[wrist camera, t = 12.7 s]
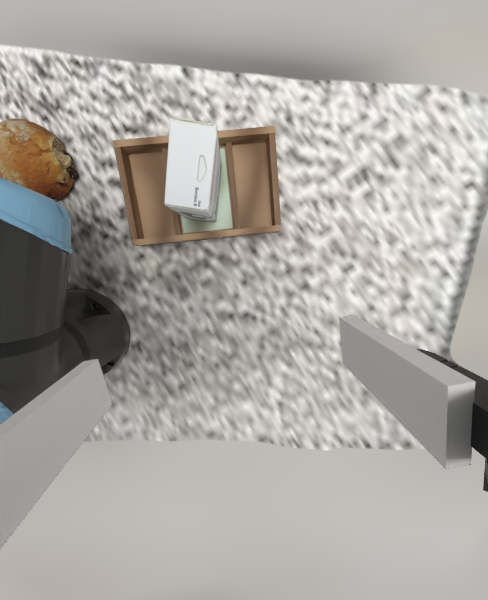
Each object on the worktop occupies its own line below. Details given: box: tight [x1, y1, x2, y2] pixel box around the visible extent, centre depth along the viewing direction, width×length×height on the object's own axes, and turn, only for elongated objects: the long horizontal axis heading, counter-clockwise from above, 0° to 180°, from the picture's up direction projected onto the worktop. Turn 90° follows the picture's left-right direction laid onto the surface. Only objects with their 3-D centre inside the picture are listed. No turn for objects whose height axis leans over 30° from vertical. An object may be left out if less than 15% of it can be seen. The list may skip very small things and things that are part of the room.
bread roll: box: [0, 119, 77, 200], centre depth 33 cm, size 10×10×8 cm
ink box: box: [164, 118, 222, 222], centre depth 30 cm, size 9×5×12 cm, turn 172°
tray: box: [113, 126, 281, 246], centre depth 35 cm, size 22×14×4 cm, turn 96°
